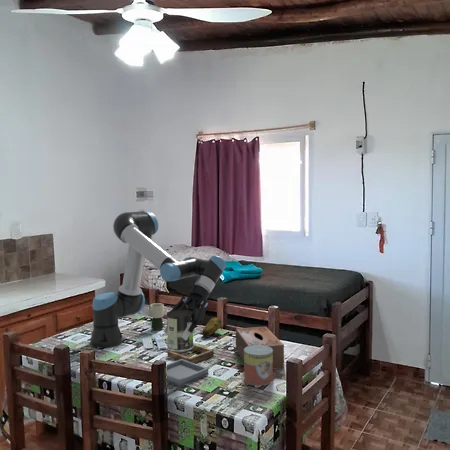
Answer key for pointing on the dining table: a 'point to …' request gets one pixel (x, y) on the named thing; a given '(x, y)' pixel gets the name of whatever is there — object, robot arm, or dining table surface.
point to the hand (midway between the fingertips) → (174, 335)
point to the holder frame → (205, 354)
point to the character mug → (157, 315)
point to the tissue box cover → (260, 342)
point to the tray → (184, 372)
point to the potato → (212, 326)
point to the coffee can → (179, 330)
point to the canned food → (258, 365)
